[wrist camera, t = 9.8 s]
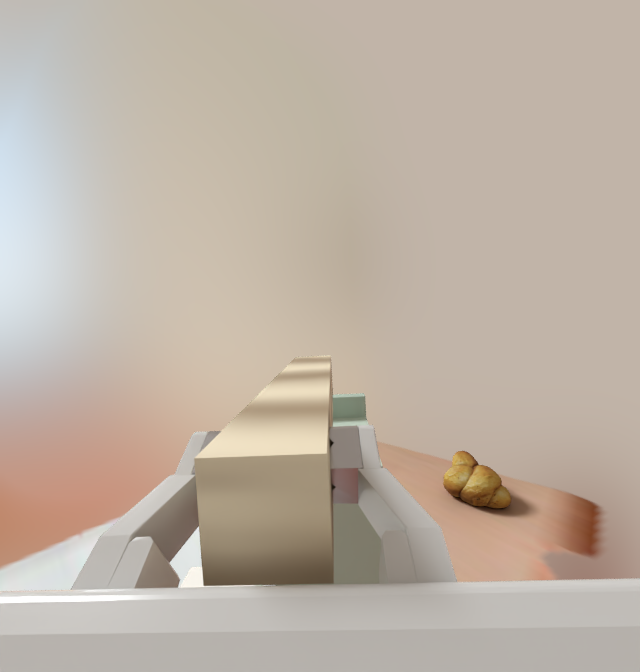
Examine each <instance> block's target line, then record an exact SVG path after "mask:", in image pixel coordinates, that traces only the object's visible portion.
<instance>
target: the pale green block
mask: <svg viewBox="0 0 640 672" xmlns="http://www.w3.org/2000/svg"><path fill="white" fill-rule="evenodd" d="M356 425H357V426H361V425H368V422H367V419H366V405H365V395H364V394H339V395H333V427H337V426H356ZM379 458H380V457H379ZM380 463H381V460H380ZM381 468H383V466H382V463H381ZM333 537H334V583H333V584H379V563H380V551H381V539H380V537H379V536H378V534H377V533H376V531H375V529H374V528H373V526H372V525H371V523H370V522H369V520H368V519H367V517H366V516H365V514H364V513H363V511H362V510H361V508H360V507H359V505H358V504H333ZM283 585H331V584H283ZM276 586H282V585H276Z"/></svg>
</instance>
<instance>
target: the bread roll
mask: <svg viewBox="0 0 640 672" xmlns="http://www.w3.org/2000/svg"><path fill="white" fill-rule="evenodd" d="M501 482H502V481H501V479H500V477H499V476H498V475H497V473H496V472H495V471H493V470H492V469H491V468H489V467H487V466H483V465H478V463H477V461H476V460H475V459H474V457H473V456H472V455H470V454H469V453H468V452H465V451H459V452H457V453H456V454H455V455H454V456H453V462H452V467H451V468H449V470H448V471H447V472H446V473H445V475H444V483H443V484H444V487H445V489H446V490H447V491H448V492H449V493H450V494H451V495H453V496H455V497H460V498H461V499H462V500H463V501H465V502H467V503H470V504H472V505H475V506H488V507H491V508H505V507H507V506H509V504H510V503H511V497H510V493H509V491H508V490H507V489H506V488H505V487H503V486H502V485H501Z"/></svg>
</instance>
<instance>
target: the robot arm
mask: <svg viewBox="0 0 640 672" xmlns="http://www.w3.org/2000/svg"><path fill="white" fill-rule="evenodd" d="M220 432H221V431H210V432H195V433H194V434H193V435H192V436H191V438H190V441H189V443H188V445H187V447H186V450H185V452H184V455H183V457H182V459H181V461H180V464H179V466H178V468H177V470H176V472H175V475H170V476H169V477H168V478H166V479H165V480H164V481H163V482H162V483H161V484H159V485H158V486H157V487H156V488H155V489H154V490H153V491H151V492H150V493H149V494H148V495H147V496H146V497H145V498H143V499H142V500H141V501H140V502H139V503H138V504H137V505H135V506H134V507H133V508H132V509H131V510H130V511H129V512H127V513H126V514H125V515H124V516H123V517H122V518H121V519H119V520H118V521H117V522H116V523H115V524H114V525H113V526H111V527H110V528H109V529H108V530H107V531H106V532H105V533H103V534H102V535H101V536H100V537H99V539H98V541H97V543H96V545H95V546H94V548H93V550H92V552H91V554H90V555H89V557H88V559H87V561H86V563H85V564H84V566H83V568H82V570H81V572H80V573H79V575H78V577H77V579H76V581H75V582H74V584H73V586H72V588H71V590H35V591H0V672H640V578H636V579H589V580H586V579H585V580H534V581H484V582H457V579H456V576H455V573H454V569H453V566H452V563H451V559H450V556H449V553H448V549H447V546H446V543H445V539H444V536H443V533H442V530H441V527H440V526H439V525H438V524H437V523H436V522H435V521H434V520H433V519H432V518H431V516H430V515H429V514H428V513H427V512H426V511H425V510H424V509H423V508H422V507H421V506H420V504H419V503H418V502H417V501H416V500H415V499H414V498H413V497H412V496H411V495H410V494H409V493H408V491H407V490H406V489H405V488H404V487H403V486H402V485H401V484H400V483H399V482H398V481H397V479H396V478H395V477H394V476H393V475H392V474H391V473H390V472H389V471H388V470H387V469H386V468H381V463H380V458H379V452H378V447H377V441H376V436H375V430H374V427H373V425H361V426H357V425H356V426H337V427H329V439H330V474H331V483H332V499H333V504H358V505H359V507H360V508H361V510H362V511H363V513H364V514H365V516H366V517H367V519H368V520H369V522H370V523H371V525H372V526H373V528H374V529H375V531H376V533H377V534H378V536H379V537H380V539H381V551H380V563H379V584H331V585H282V586H232V587H183V588H178V585H179V581H180V579H179V576H178V575H177V573H176V572H175V570H174V569H173V568H172V566H171V565H170V561H171V560H172V559H173V558H174V556H175V555H176V554H177V553H178V551H179V550H180V549H181V547H182V546H183V545H184V544H185V542H186V541H187V540H188V539H189V537H190V536H191V535H192V534H193V532H194V531H195V530H196V529H197V527H198V526H199V518H198V504H197V490H196V477H195V463H194V458H195V457H196V456H197V455H198V454H199V453H200V452H201V451H202V450H203V449H204V448H205V447H206V446H207V445H208V444H209V443H210V442H211V441H212V440H213V439H214V438H215V437H216V436H217V435H218V434H219V433H220Z"/></svg>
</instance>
